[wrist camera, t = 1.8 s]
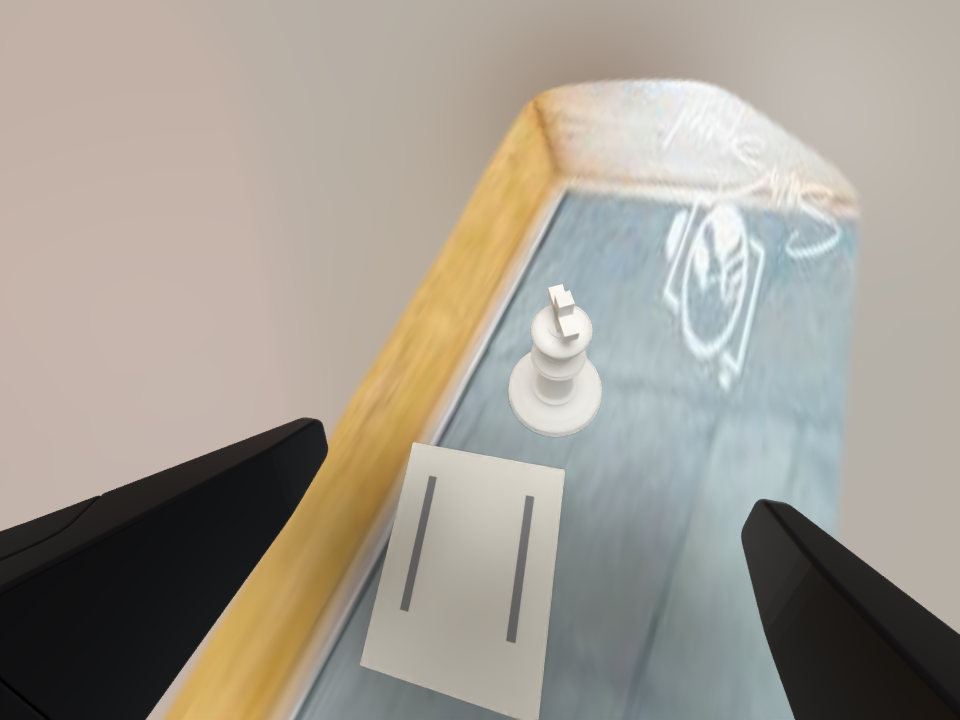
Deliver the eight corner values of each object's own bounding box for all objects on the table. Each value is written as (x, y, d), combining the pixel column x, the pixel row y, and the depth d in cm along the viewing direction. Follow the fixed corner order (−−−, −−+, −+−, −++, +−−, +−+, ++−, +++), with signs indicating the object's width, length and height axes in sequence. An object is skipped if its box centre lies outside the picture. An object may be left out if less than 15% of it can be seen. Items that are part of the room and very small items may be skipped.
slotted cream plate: (537, 719, 15) (537, 726, 14) (363, 660, 16) (359, 665, 16) (564, 470, 18) (565, 469, 17) (415, 442, 19) (412, 442, 19)
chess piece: (584, 338, 20) (621, 207, 11) (614, 424, 18) (691, 356, 9) (499, 361, 20) (462, 253, 11) (521, 446, 18) (499, 404, 9)
